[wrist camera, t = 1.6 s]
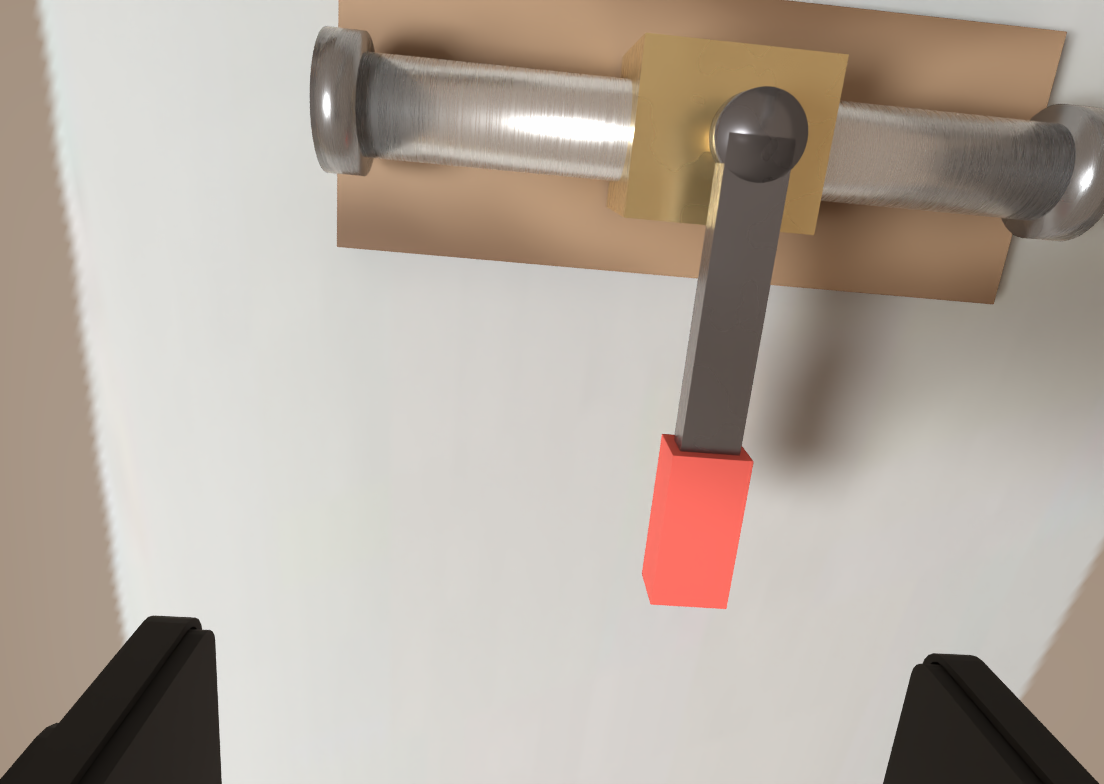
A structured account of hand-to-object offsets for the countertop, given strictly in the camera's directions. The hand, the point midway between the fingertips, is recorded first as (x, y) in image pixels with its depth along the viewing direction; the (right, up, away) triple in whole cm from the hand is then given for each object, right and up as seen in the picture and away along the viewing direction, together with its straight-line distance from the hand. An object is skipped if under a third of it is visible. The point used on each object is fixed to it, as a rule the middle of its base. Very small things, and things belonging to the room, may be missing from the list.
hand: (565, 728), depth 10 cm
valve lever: (+5, +6, +13) cm, 15 cm away
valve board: (+5, +14, +19) cm, 24 cm away
